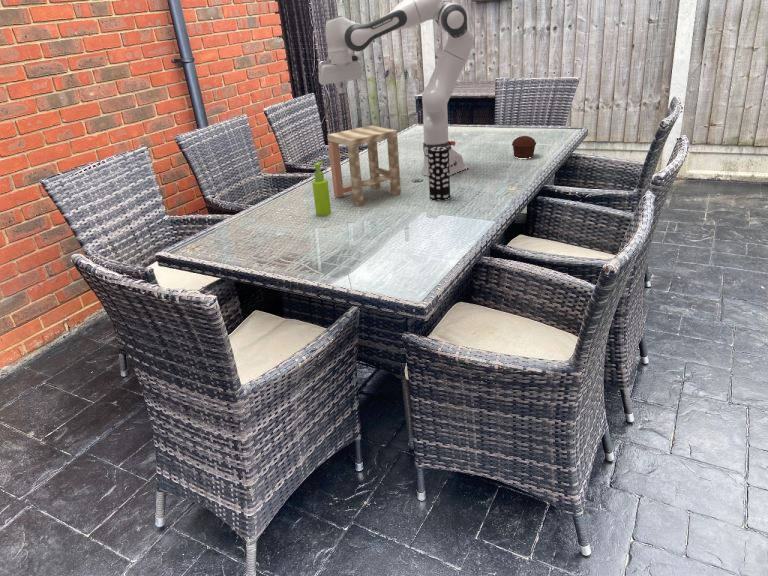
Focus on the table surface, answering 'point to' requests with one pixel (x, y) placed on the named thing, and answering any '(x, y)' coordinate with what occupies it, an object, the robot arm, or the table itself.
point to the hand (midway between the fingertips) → (342, 92)
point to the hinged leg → (337, 171)
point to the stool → (370, 158)
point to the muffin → (524, 147)
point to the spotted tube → (439, 173)
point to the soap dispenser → (321, 192)
